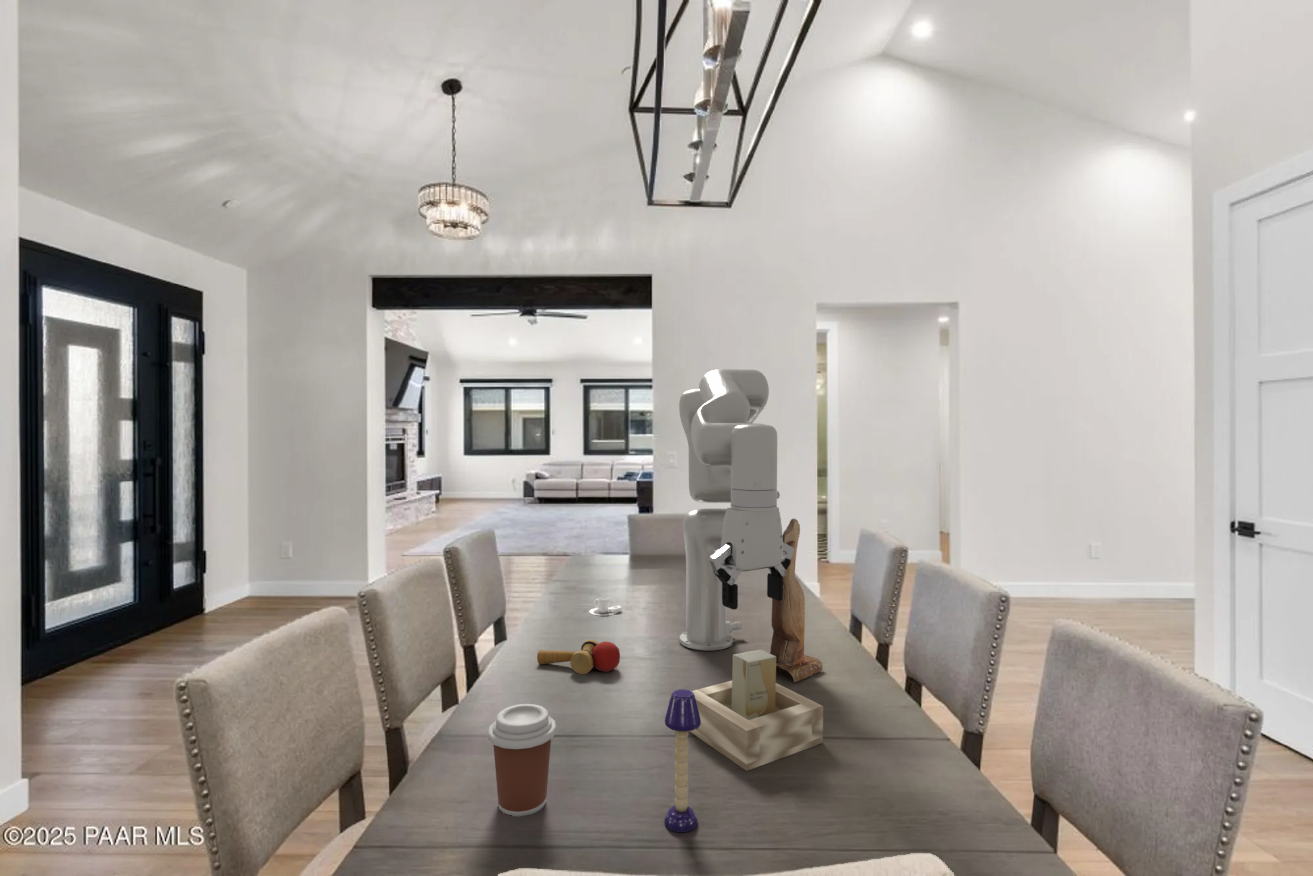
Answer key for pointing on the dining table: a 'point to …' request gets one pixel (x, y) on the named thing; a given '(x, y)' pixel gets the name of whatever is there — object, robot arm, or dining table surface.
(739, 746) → the holder
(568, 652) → the kendama
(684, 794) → the toy lamp
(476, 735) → the dining table surface
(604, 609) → the teacup and saucer
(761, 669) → the skincare box
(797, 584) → the bird sculpture
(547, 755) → the coffee cup
